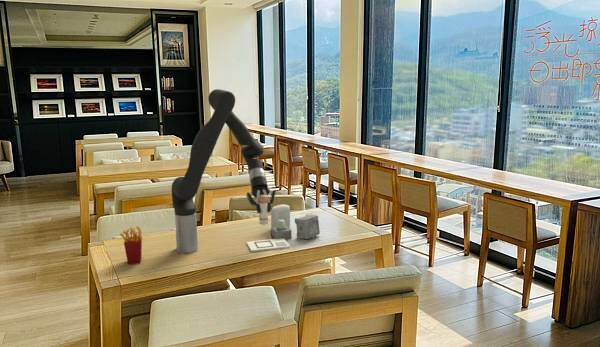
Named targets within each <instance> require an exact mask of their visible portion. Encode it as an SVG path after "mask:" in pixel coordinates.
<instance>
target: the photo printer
mask: <svg viewBox="0 0 600 347" xmlns="http://www.w3.org/2000/svg"><path fill="white" fill-rule="evenodd" d="M270 219H271V220H270V221H271V222H270V226H271V227H275V226H278V220H285V225H287V226H288V227H289V228H290V227H291V207H290V205H288V204H277V205H274V206H273V207H271V211H270Z"/></svg>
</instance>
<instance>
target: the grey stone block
mask: <svg viewBox="0 0 600 347" xmlns="http://www.w3.org/2000/svg"><path fill="white" fill-rule="evenodd" d="M294 223H295V225H296V238H298V239H306V240H308V239H314V238H315V237H316V236H318V235H320V231H321V230H320V222H319V216H318V215H315V214H306V215H305V216H301V217H295V218H294Z"/></svg>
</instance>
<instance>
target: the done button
mask: <svg viewBox="0 0 600 347" xmlns="http://www.w3.org/2000/svg"><path fill="white" fill-rule="evenodd" d="M278 230H285V220H278Z"/></svg>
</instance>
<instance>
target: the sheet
mask: <svg viewBox="0 0 600 347" xmlns="http://www.w3.org/2000/svg"><path fill="white" fill-rule="evenodd" d="M246 245H247V247H248V249H249V250H250V252H251V253H255V252H257V253H258V252H264V251H274V250H280V249H290V248H291V245H290V244H289V243H288V242H287V239H284V238H279V239H274V238H270V239H261V240H253V241H246Z"/></svg>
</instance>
